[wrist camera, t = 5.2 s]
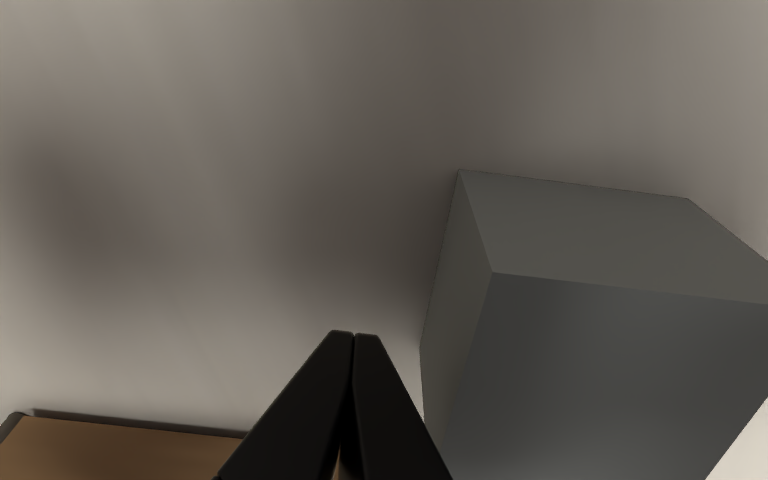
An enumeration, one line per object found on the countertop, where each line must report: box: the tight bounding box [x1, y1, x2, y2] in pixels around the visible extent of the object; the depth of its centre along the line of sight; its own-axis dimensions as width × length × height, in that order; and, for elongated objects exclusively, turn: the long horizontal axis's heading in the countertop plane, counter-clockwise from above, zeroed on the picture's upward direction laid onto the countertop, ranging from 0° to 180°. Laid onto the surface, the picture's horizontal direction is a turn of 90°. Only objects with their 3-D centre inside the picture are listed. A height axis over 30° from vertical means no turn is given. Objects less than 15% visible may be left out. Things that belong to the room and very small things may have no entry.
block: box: [419, 169, 768, 480], centre depth 10 cm, size 5×5×4 cm
